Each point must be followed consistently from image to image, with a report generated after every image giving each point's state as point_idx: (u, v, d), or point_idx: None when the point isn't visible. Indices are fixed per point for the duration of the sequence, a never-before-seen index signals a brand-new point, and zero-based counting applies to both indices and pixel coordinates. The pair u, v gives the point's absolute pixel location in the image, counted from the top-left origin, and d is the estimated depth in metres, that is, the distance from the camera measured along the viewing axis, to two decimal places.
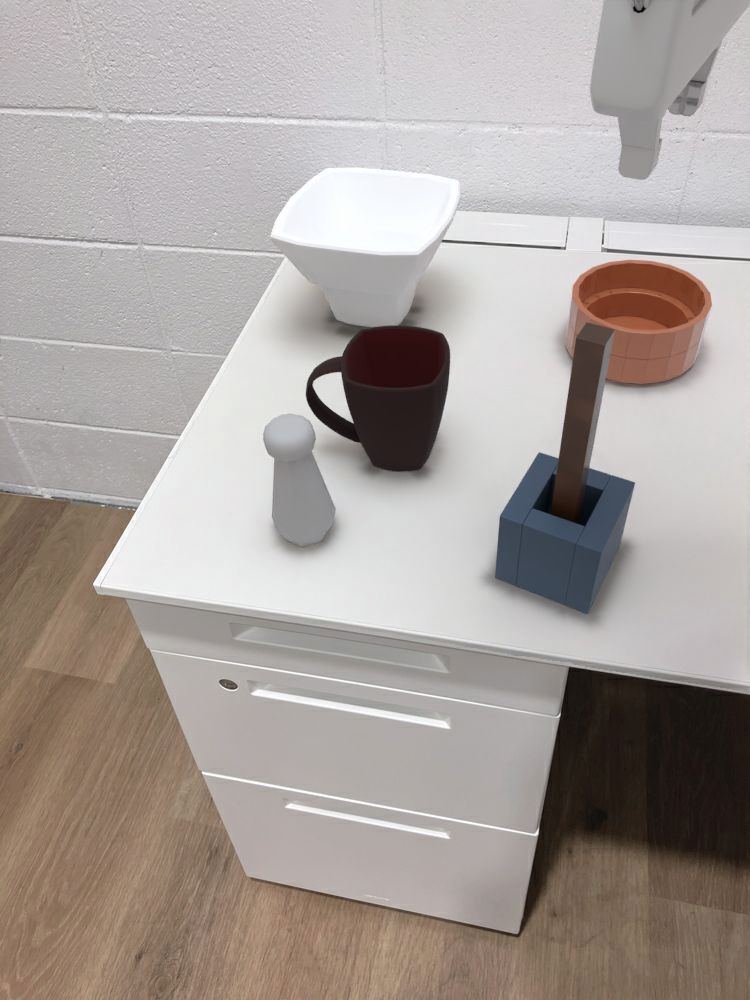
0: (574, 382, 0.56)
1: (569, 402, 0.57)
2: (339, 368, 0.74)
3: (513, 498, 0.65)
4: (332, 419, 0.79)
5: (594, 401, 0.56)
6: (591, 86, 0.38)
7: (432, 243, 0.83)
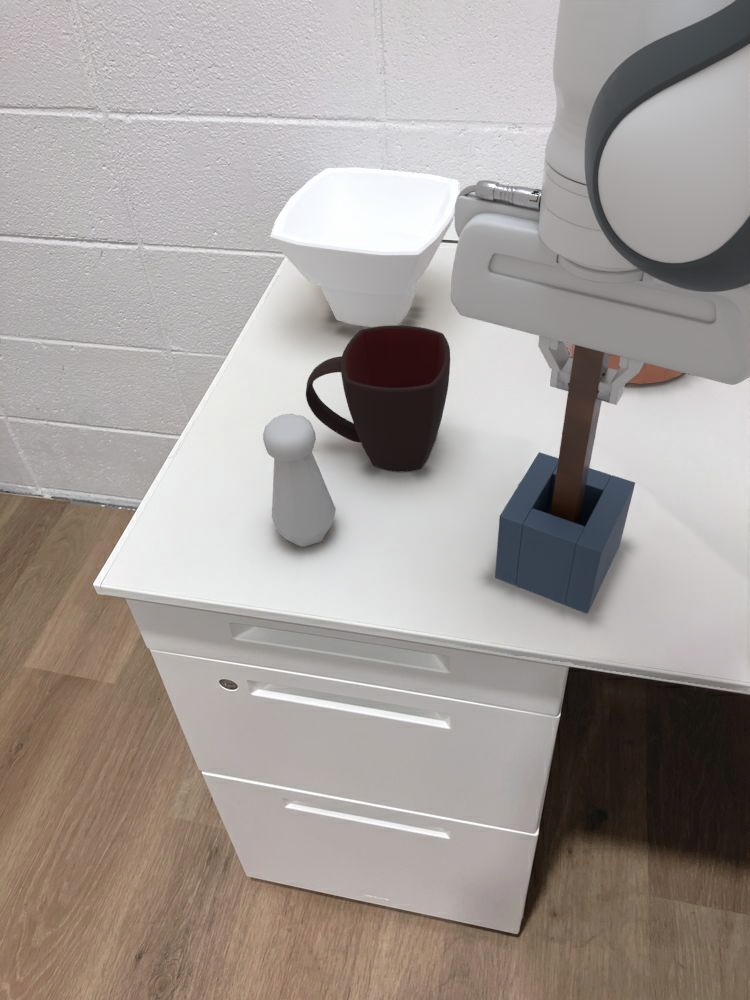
0: (574, 382, 0.56)
1: (569, 402, 0.57)
2: (339, 368, 0.74)
3: (513, 498, 0.65)
4: (332, 419, 0.79)
5: (594, 401, 0.56)
6: None
7: (432, 243, 0.83)
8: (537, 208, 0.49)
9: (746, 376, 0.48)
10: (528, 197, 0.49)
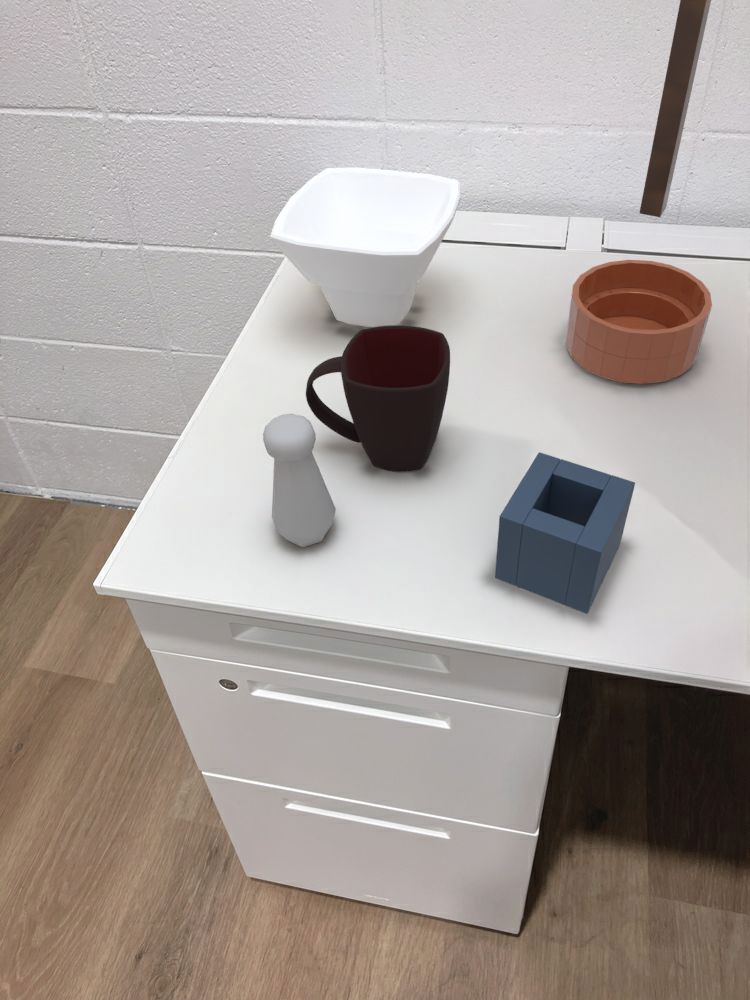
0: None
1: None
2: (339, 368, 0.74)
3: (513, 498, 0.65)
4: (332, 419, 0.79)
5: None
6: None
7: (432, 243, 0.83)
8: None
9: None
10: None
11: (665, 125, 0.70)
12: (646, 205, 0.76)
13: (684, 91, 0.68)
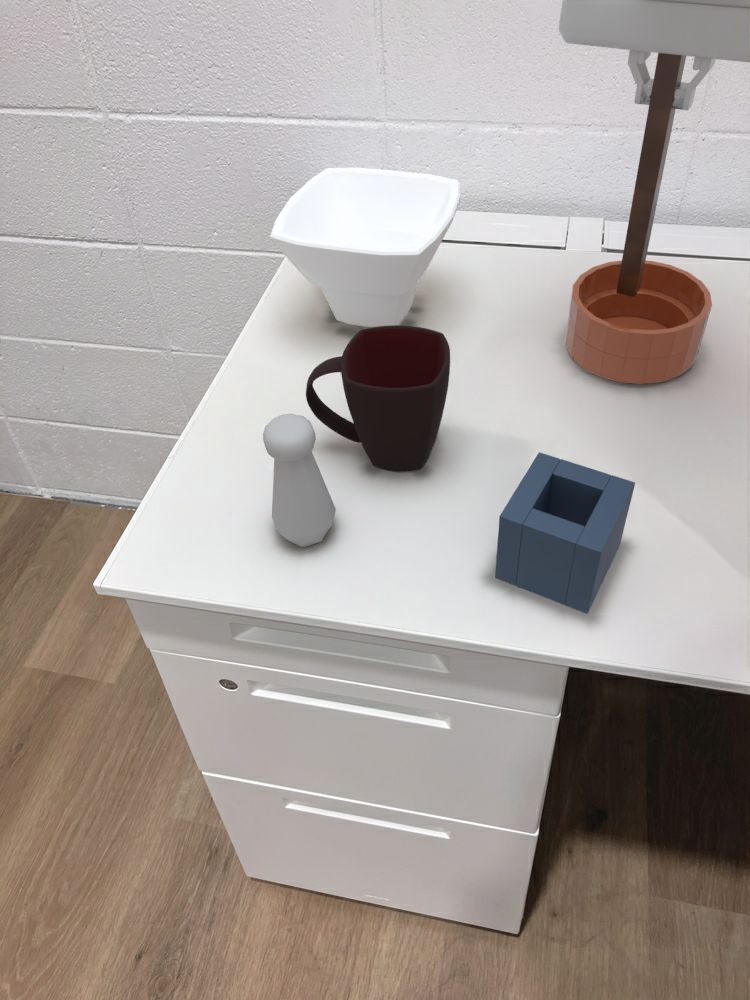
0: (655, 93, 0.71)
1: (649, 114, 0.73)
2: (339, 368, 0.74)
3: (513, 498, 0.65)
4: (332, 419, 0.79)
5: (670, 109, 0.72)
6: None
7: (432, 243, 0.83)
8: None
9: None
10: None
11: (636, 221, 0.80)
12: (622, 286, 0.85)
13: (652, 194, 0.77)
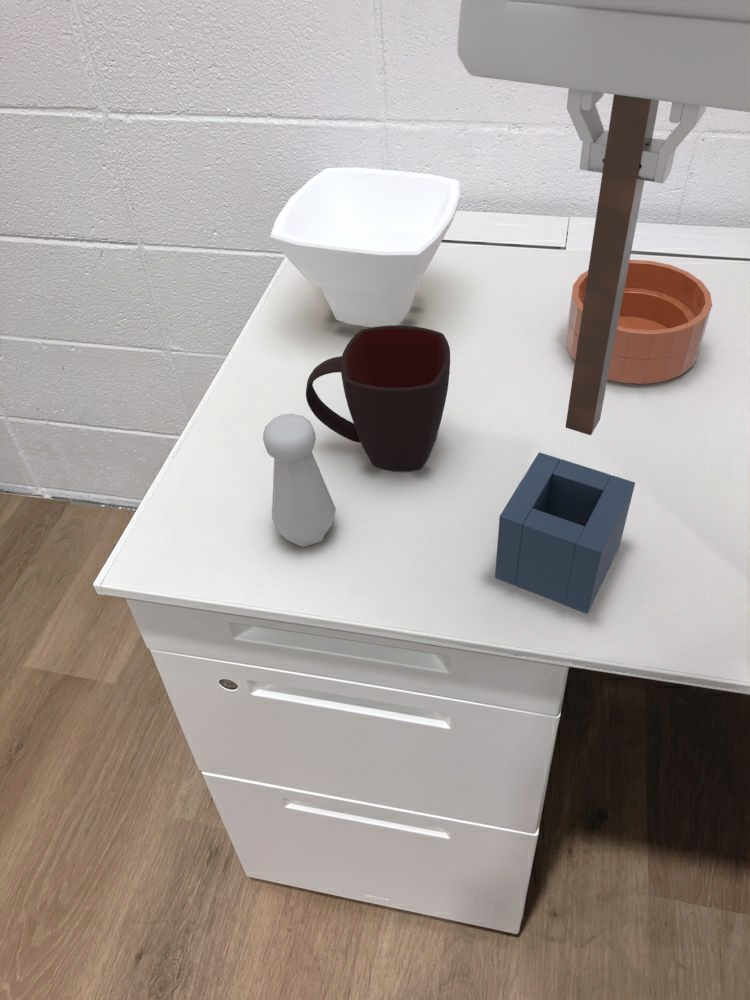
0: (611, 155, 0.45)
1: (603, 187, 0.46)
2: (339, 368, 0.74)
3: (513, 498, 0.65)
4: (332, 419, 0.79)
5: (635, 180, 0.45)
6: None
7: (432, 243, 0.83)
8: None
9: None
10: None
11: (590, 336, 0.53)
12: (573, 420, 0.59)
13: (611, 301, 0.51)
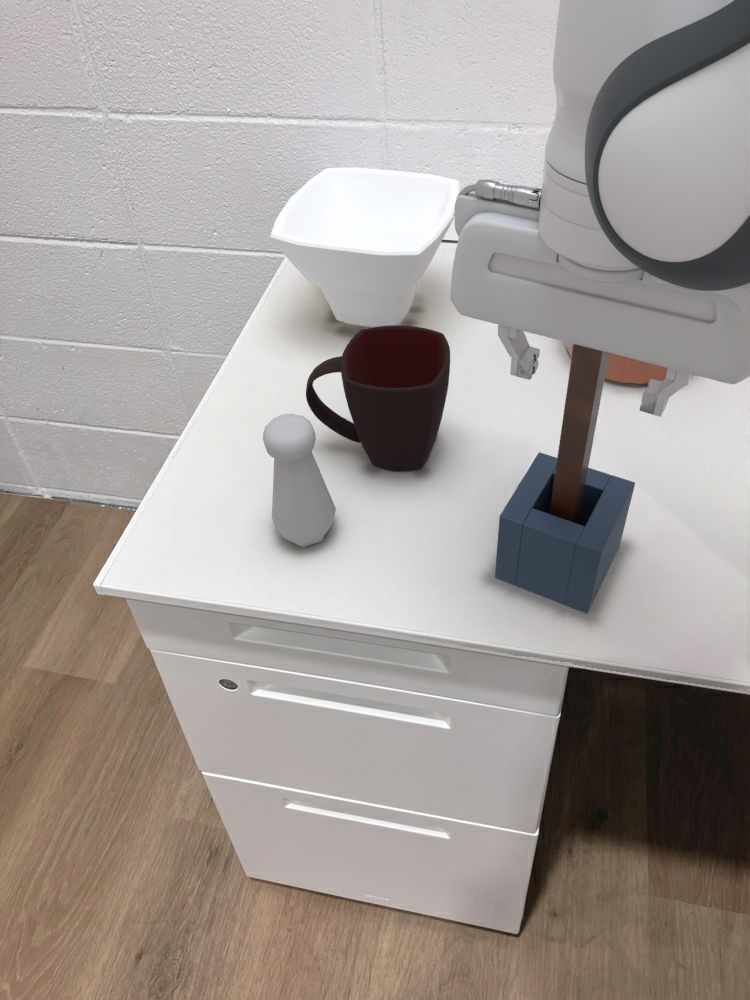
0: (573, 381, 0.56)
1: (568, 401, 0.57)
2: (339, 368, 0.74)
3: (513, 498, 0.65)
4: (332, 419, 0.79)
5: (593, 401, 0.56)
6: None
7: (432, 243, 0.83)
8: (537, 207, 0.49)
9: (746, 375, 0.48)
10: (528, 196, 0.49)
11: (560, 502, 0.64)
12: None
13: (577, 480, 0.62)
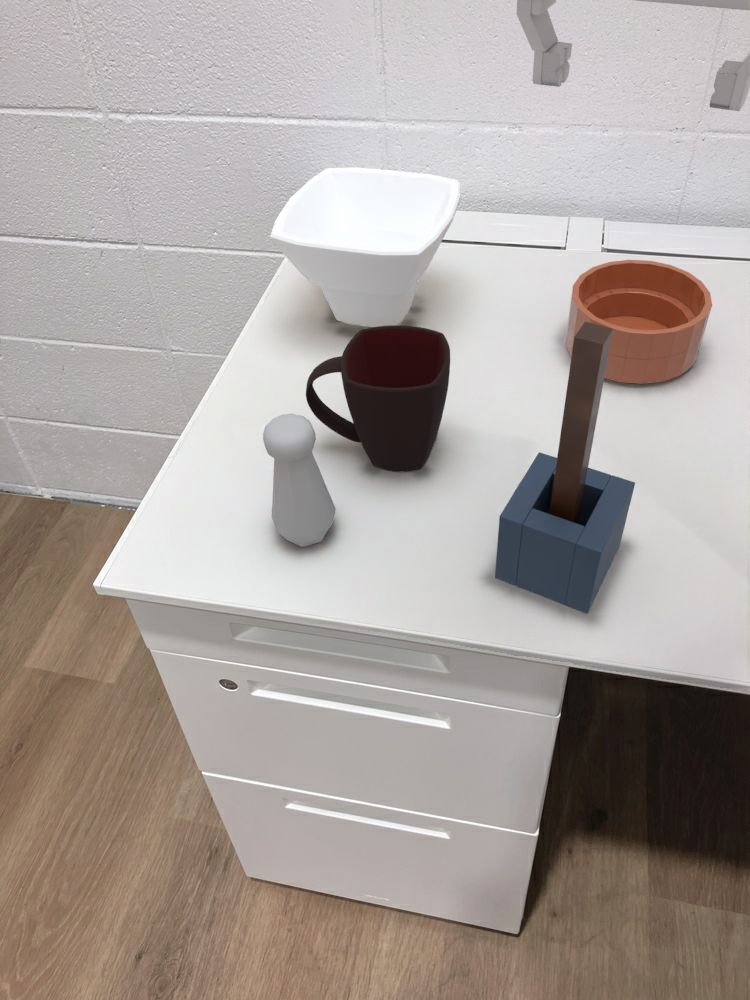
0: (573, 381, 0.56)
1: (567, 401, 0.57)
2: (339, 368, 0.74)
3: (513, 498, 0.65)
4: (332, 419, 0.79)
5: (592, 400, 0.56)
6: None
7: (432, 243, 0.83)
8: None
9: None
10: None
11: (560, 502, 0.64)
12: None
13: (577, 480, 0.62)
